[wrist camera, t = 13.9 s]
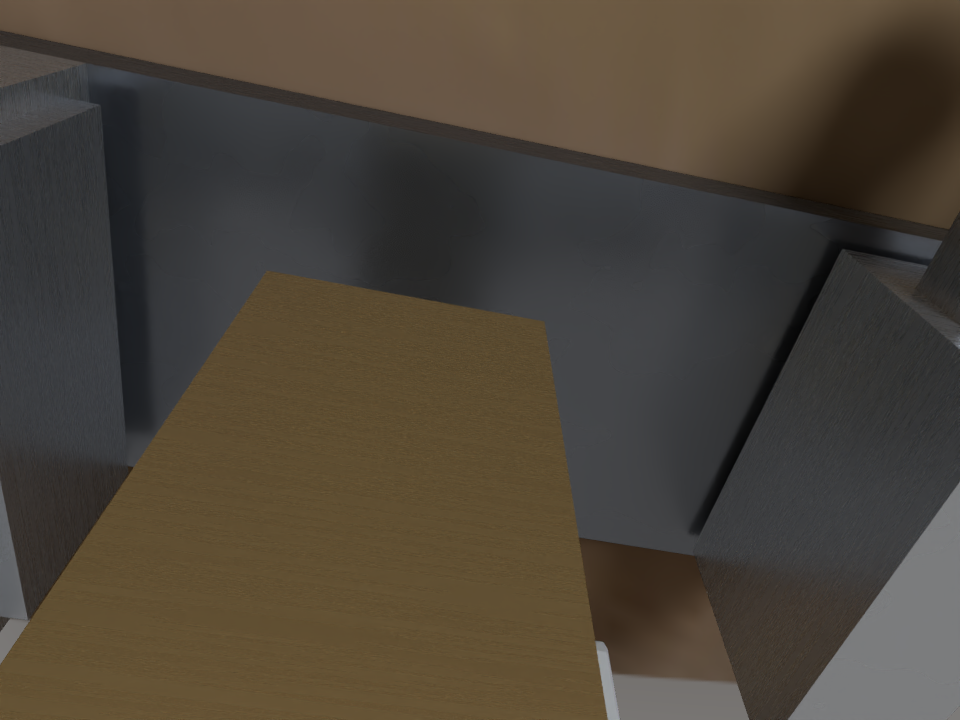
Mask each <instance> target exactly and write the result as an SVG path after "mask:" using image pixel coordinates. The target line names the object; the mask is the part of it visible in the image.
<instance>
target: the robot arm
mask: <svg viewBox="0 0 960 720" xmlns="http://www.w3.org/2000/svg"><path fill="white" fill-rule="evenodd" d="M595 642H596V649H597V655H598V661H599V667H600V674H601V680H602V686H603V693H604V699H605V705H606V711H607V718H608V720H620V716H619V710H618V704H617V699H616V693H615V687H614V682H613V676H612V671H611V665H610V660H609V654H608V649H607V647H606V646H605V644H604V642H601V641H595Z"/></svg>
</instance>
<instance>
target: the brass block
mask: <svg viewBox="0 0 960 720" xmlns="http://www.w3.org/2000/svg"><path fill="white" fill-rule="evenodd" d="M0 720H608V718H607V711H606V705H605V699H604V693H603V686H602V680H601V674H600V667H599V661H598V655H597V649H596V642H595V636H594V630H593V624H592V617H591V611H590V605H589V598H588V592H587V586H586V580H585V573H584V567H583V561H582V554H581V548H580V542H579V536H578V529H577V523H576V517H575V511H574V504H573V498H572V492H571V485H570V479H569V473H568V467H567V460H566V454H565V448H564V441H563V435H562V429H561V423H560V416H559V410H558V404H557V397H556V391H555V385H554V379H553V372H552V366H551V360H550V354H549V347H548V341H547V335H546V328H545V322H544V321H539V320H534V319H528V318H523V317H518V316H512V315H507V314H501V313H496V312H490V311H485V310H480V309H474V308H469V307H463V306H458V305H452V304H447V303H442V302H436V301H431V300H425V299H420V298H414V297H409V296H404V295H398V294H393V293H387V292H382V291H376V290H371V289H366V288H360V287H355V286H349V285H344V284H338V283H333V282H328V281H322V280H317V279H311V278H306V277H300V276H295V275H290V274H284V273H279V272H273V271H268V270H267V271H266V273H265V274H264V276H263V277H262V279H261V280H260V282H259V283H258V285H257V286H256V288H255V289H254V291H253V292H252V293H251V295H250V296H249V298H248V299H247V301H246V302H245V304H244V305H243V307H242V308H241V310H240V311H239V313H238V314H237V316H236V317H235V319H234V320H233V322H232V323H231V325H230V326H229V327H228V329H227V330H226V332H225V333H224V335H223V336H222V338H221V339H220V341H219V342H218V344H217V345H216V347H215V348H214V350H213V351H212V353H211V354H210V356H209V357H208V359H207V360H206V361H205V363H204V364H203V366H202V367H201V369H200V370H199V372H198V373H197V375H196V376H195V378H194V379H193V381H192V382H191V384H190V385H189V387H188V388H187V390H186V391H185V393H184V394H183V395H182V397H181V398H180V400H179V401H178V403H177V404H176V406H175V407H174V409H173V410H172V412H171V413H170V415H169V416H168V418H167V419H166V421H165V422H164V424H163V425H162V427H161V428H160V429H159V431H158V432H157V434H156V435H155V437H154V438H153V440H152V441H151V443H150V444H149V446H148V447H147V449H146V450H145V452H144V453H143V455H142V456H141V458H140V459H139V461H138V462H137V463H136V465H135V466H134V468H133V469H132V471H131V472H130V474H129V475H128V477H127V478H126V480H125V481H124V483H123V484H122V486H121V487H120V489H119V490H118V492H117V493H116V495H115V496H114V497H113V499H112V500H111V502H110V503H109V505H108V506H107V508H106V509H105V511H104V512H103V514H102V515H101V517H100V518H99V520H98V521H97V523H96V524H95V526H94V527H93V529H92V530H91V531H90V533H89V534H88V536H87V537H86V539H85V540H84V542H83V543H82V545H81V546H80V548H79V549H78V551H77V552H76V554H75V555H74V557H73V558H72V560H71V561H70V563H69V564H68V565H67V567H66V568H65V570H64V571H63V573H62V574H61V576H60V577H59V579H58V580H57V582H56V583H55V585H54V586H53V588H52V589H51V591H50V592H49V594H48V595H47V597H46V598H45V599H44V601H43V602H42V604H41V605H40V607H39V608H38V610H37V611H36V613H35V614H34V616H33V617H32V619H31V620H30V622H29V623H28V625H27V626H26V628H25V629H24V631H23V632H22V634H21V635H20V637H19V638H18V639H17V641H16V642H15V644H14V645H13V647H12V648H11V650H10V651H9V653H8V654H7V656H6V657H5V659H4V660H3V662H2V663H1V665H0Z"/></svg>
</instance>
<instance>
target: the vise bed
mask: <svg viewBox="0 0 960 720" xmlns="http://www.w3.org/2000/svg"><path fill="white" fill-rule="evenodd" d="M948 231H949V229H944V228H939V227H934V226H930V225H925V224H920V223H915V222H911V221H906V220H901V219H896V218H892V217H887V216H882V215H877V214H872V213H868V212H863V211H858V210H853V209H849V208H844V207H839V206H834V205H830V204H825V203H820V202H815V201H810V200H806V199H801V198H796V197H791V196H787V195H782V194H777V193H772V192H768V191H763V190H758V189H753V188H749V187H744V186H739V185H734V184H729V183H725V182H720V181H715V180H710V179H706V178H701V177H696V176H691V175H687V174H682V173H677V172H672V171H667V170H663V169H658V168H653V167H648V166H644V165H639V164H634V163H629V162H625V161H620V160H615V159H610V158H605V157H601V156H596V155H591V154H586V153H582V152H577V151H572V150H567V149H563V148H558V147H553V146H548V145H543V144H539V143H534V142H529V141H524V140H520V139H515V138H510V137H505V136H501V135H496V134H491V133H486V132H481V131H477V130H472V129H467V128H462V127H458V126H453V125H448V124H443V123H439V122H434V121H429V120H424V119H419V118H415V117H410V116H405V115H400V114H396V113H391V112H386V111H381V110H377V109H372V108H367V107H362V106H357V105H353V104H348V103H343V102H338V101H334V100H329V99H324V98H319V97H315V96H310V95H305V94H300V93H296V92H291V91H286V90H281V89H276V88H272V87H267V86H262V85H257V84H253V83H248V82H243V81H238V80H234V79H229V78H224V77H219V76H214V75H210V74H205V73H200V72H195V71H191V70H186V69H181V68H176V67H172V66H167V65H162V64H157V63H152V62H148V61H143V60H138V59H133V58H129V57H124V56H119V55H114V54H110V53H105V52H100V51H95V50H90V49H86V48H81V47H76V46H71V45H67V44H62V43H57V42H52V41H48V40H43V39H38V38H33V37H28V36H24V35H19V34H14V33H9V32H5V31H0V631H1V630H2V629H3V627H4V626H5V625H6V623H7V622H8V620H9V619H10V618H16V619H23V620H29V618H30V617H31V615H32V614H33V612H34V611H35V609H36V608H37V606H38V605H39V603H40V602H41V601H42V599H43V598H44V596H45V595H46V593H47V592H48V590H49V589H50V587H51V586H52V585H53V583H54V582H55V580H56V579H57V577H58V576H59V574H60V573H61V571H62V570H63V568H64V567H65V566H66V564H67V563H68V561H69V560H70V558H71V557H72V555H73V554H74V552H75V551H76V550H77V548H78V547H79V545H80V544H81V542H82V541H83V539H84V538H85V536H86V535H87V534H88V532H89V531H90V529H91V528H92V526H93V525H94V523H95V522H96V520H97V519H98V517H99V516H100V515H101V513H102V512H103V510H104V509H105V507H106V506H107V504H108V503H109V501H110V500H111V499H112V497H113V496H114V494H115V493H116V491H117V490H118V488H119V487H120V485H121V484H122V482H123V481H124V480H125V478H126V477H127V475H128V466H131V467H134V466H135V465H136V463H137V462H138V461H139V459H140V458H141V456H142V455H143V453H144V452H145V450H146V449H147V447H148V446H149V444H150V443H151V441H152V440H153V438H154V437H155V435H156V434H157V432H158V431H159V429H160V428H161V427H162V425H163V424H164V422H165V421H166V419H167V418H168V416H169V415H170V413H171V412H172V410H173V409H174V407H175V406H176V404H177V403H178V401H179V400H180V398H181V397H182V395H183V394H184V393H185V391H186V390H187V388H188V387H189V385H190V384H191V382H192V381H193V379H194V378H195V376H196V375H197V373H198V372H199V370H200V369H201V367H202V366H203V364H204V363H205V361H206V360H207V359H208V357H209V356H210V354H211V353H212V351H213V350H214V348H215V347H216V345H217V344H218V342H219V341H220V339H221V338H222V336H223V335H224V333H225V332H226V330H227V329H228V327H229V326H230V325H231V323H232V322H233V320H234V319H235V317H236V316H237V314H238V313H239V311H240V310H241V308H242V307H243V305H244V304H245V302H246V301H247V299H248V298H249V296H250V295H251V293H252V292H253V291H254V289H255V288H256V286H257V285H258V283H259V282H260V280H261V279H262V277H263V276H264V274H265V273H266V271H267V270H268V271H273V272H279V273H284V274H290V275H295V276H300V277H306V278H311V279H317V280H322V281H328V282H333V283H338V284H344V285H349V286H355V287H360V288H366V289H371V290H376V291H382V292H387V293H393V294H398V295H404V296H409V297H414V298H420V299H425V300H431V301H436V302H442V303H447V304H452V305H458V306H463V307H469V308H474V309H480V310H485V311H490V312H496V313H501V314H507V315H512V316H518V317H523V318H528V319H534V320H539V321H544V322H545V328H546V335H547V341H548V347H549V354H550V360H551V366H552V372H553V379H554V385H555V391H556V397H557V404H558V410H559V416H560V423H561V429H562V435H563V441H564V448H565V454H566V460H567V467H568V473H569V479H570V485H571V492H572V498H573V504H574V511H575V517H576V523H577V529H578V536H579V537H580V538H586V539H592V540H598V541H605V542H611V543H617V544H624V545H630V546H636V547H643V548H649V549H655V550H662V551H668V552H674V553H681V554H687V555H693V556H694V553H693V550H692V549H693V547H694V545H695V543H696V541H697V539H698V537H699V535H700V533H701V531H702V529H703V527H704V525H705V523H706V521H707V519H708V517H709V515H710V513H711V511H712V509H713V507H714V505H715V503H716V501H717V499H718V497H719V495H720V493H721V491H722V489H723V487H724V485H725V483H726V481H727V479H728V477H729V475H730V473H731V471H732V469H733V467H734V465H735V463H736V461H737V459H738V457H739V455H740V453H741V451H742V449H743V447H744V445H745V443H746V441H747V439H748V437H749V435H750V433H751V431H752V429H753V427H754V425H755V423H756V421H757V419H758V417H759V415H760V413H761V411H762V409H763V407H764V405H765V403H766V401H767V399H768V397H769V395H770V393H771V391H772V389H773V387H774V385H775V383H776V381H777V378H778V376H779V374H780V372H781V370H782V368H783V366H784V364H785V362H786V360H787V358H788V356H789V354H790V352H791V350H792V348H793V346H794V344H795V342H796V340H797V338H798V336H799V334H800V332H801V330H802V328H803V326H804V324H805V322H806V320H807V318H808V316H809V314H810V312H811V310H812V308H813V306H814V304H815V302H816V300H817V298H818V296H819V294H820V292H821V290H822V288H823V286H824V284H825V282H826V280H827V278H828V276H829V274H830V272H831V270H832V268H833V266H834V264H835V262H836V260H837V258H838V256H839V254H840V252H841V250H842V249H847V250H852V251H857V252H862V253H867V254H872V255H877V256H881V257H886V258H891V259H896V260H901V261H906V262H911V263H916V264H921V265H926V266H929V264H930V262H931V261H932V259H933V257H934V255H935V254H936V252H937V250H938V248H939V247H940V245H941V243H942V241H943V240H944V238H945V236H946V234H947V233H948Z"/></svg>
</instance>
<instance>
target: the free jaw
mask: <svg viewBox="0 0 960 720" xmlns="http://www.w3.org/2000/svg"><path fill="white" fill-rule="evenodd" d="M692 550H693V553H694V556H695V559H696V562H697V565H698V568H699V571H700V574H701V577H702V580H703V583H704V586H705V589H706V592H707V595H708V598H709V601H710V604H711V607H712V610H713V613H714V615H715V618H716V621H717V624H718V627H719V630H720V633H721V636H722V639H723V642H724V645H725V648H726V651H727V654H728V657H729V660H730V663H731V666H732V669H733V672H734V675H735V678H736V681H737V684H738V687H739V690H740V693H741V696H742V699H743V702H744V705H745V708H746V711H747V714H748V717H749V720H947V719H948V718H949V717H950V716H951V715H952V714H953V713H954V712H955V710H956V709H957V708H958V707H959V706H960V212H959V213H958V215H957V217H956V219H955V220H954V222H953V224H952V226H951V227H950V229H949V231H948V233H947V234H946V236H945V238H944V240H943V241H942V243H941V245H940V247H939V248H938V250H937V252H936V254H935V255H934V257H933V259H932V261H931V262H930V264H929V266H926V265H921V264H916V263H911V262H906V261H901V260H896V259H891V258H886V257H881V256H877V255H872V254H867V253H862V252H857V251H852V250H847V249H842V250H841V252H840V254H839V256H838V258H837V260H836V262H835V264H834V266H833V268H832V270H831V272H830V274H829V276H828V278H827V280H826V282H825V284H824V286H823V288H822V290H821V292H820V294H819V296H818V298H817V300H816V302H815V304H814V306H813V308H812V310H811V312H810V314H809V316H808V318H807V320H806V322H805V324H804V326H803V328H802V330H801V332H800V334H799V336H798V338H797V340H796V342H795V344H794V346H793V348H792V350H791V352H790V354H789V356H788V358H787V360H786V362H785V364H784V366H783V368H782V370H781V372H780V374H779V376H778V378H777V381H776V383H775V385H774V387H773V389H772V391H771V393H770V395H769V397H768V399H767V401H766V403H765V405H764V407H763V409H762V411H761V413H760V415H759V417H758V419H757V421H756V423H755V425H754V427H753V429H752V431H751V433H750V435H749V437H748V439H747V441H746V443H745V445H744V447H743V449H742V451H741V453H740V455H739V457H738V459H737V461H736V463H735V465H734V467H733V469H732V471H731V473H730V475H729V477H728V479H727V481H726V483H725V485H724V487H723V489H722V491H721V493H720V495H719V497H718V499H717V501H716V503H715V505H714V507H713V509H712V511H711V513H710V515H709V517H708V519H707V521H706V523H705V525H704V527H703V529H702V531H701V533H700V535H699V537H698V539H697V541H696V543H695V545H694V547H693V549H692Z"/></svg>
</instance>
